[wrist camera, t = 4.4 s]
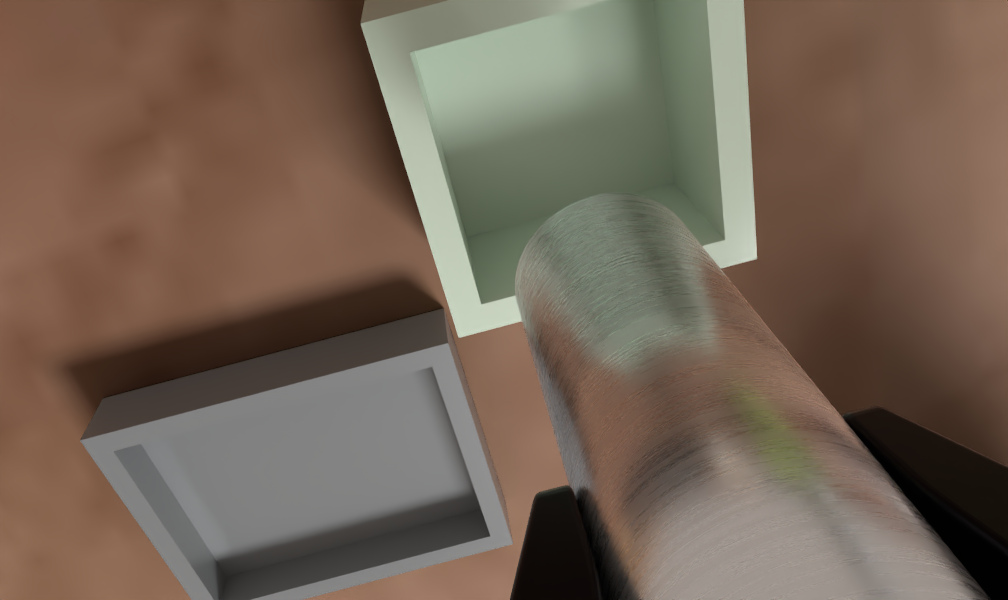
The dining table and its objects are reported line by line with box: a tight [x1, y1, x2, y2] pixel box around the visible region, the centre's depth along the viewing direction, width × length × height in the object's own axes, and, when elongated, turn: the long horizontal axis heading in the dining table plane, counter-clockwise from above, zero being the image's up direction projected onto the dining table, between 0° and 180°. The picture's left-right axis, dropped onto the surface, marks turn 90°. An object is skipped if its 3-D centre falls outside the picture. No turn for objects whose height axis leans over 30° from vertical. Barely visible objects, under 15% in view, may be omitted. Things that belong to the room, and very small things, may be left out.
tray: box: [80, 308, 513, 600], centre depth 22 cm, size 10×8×2 cm
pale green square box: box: [360, 0, 757, 338], centre depth 17 cm, size 7×7×4 cm
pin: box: [515, 192, 991, 600], centre depth 8 cm, size 3×3×10 cm
